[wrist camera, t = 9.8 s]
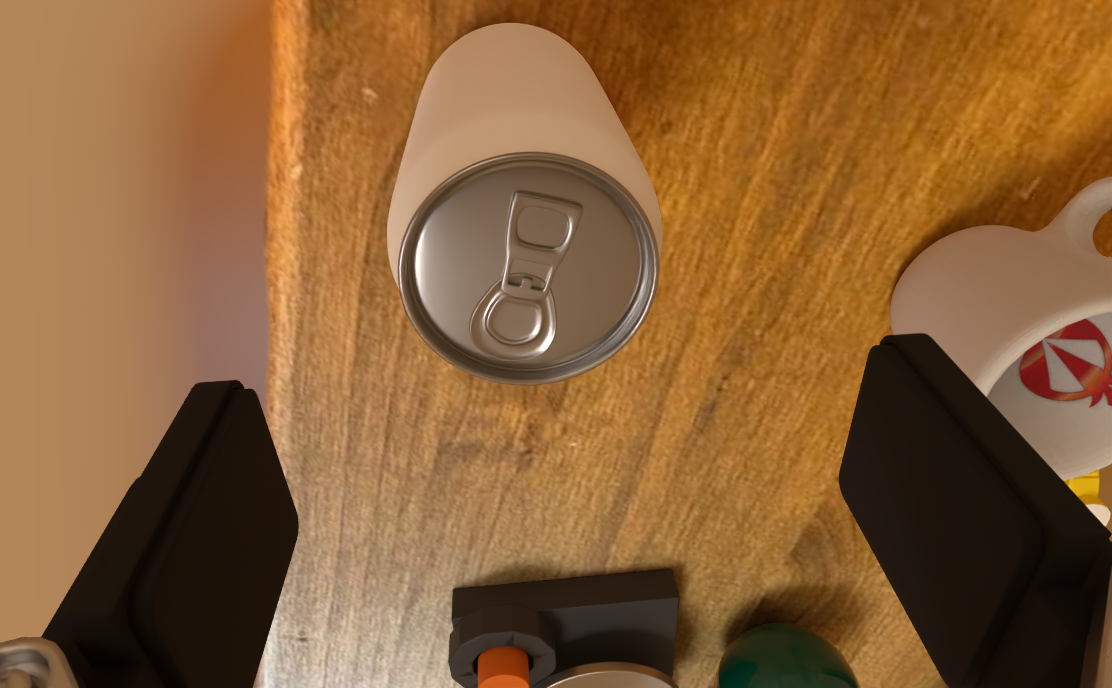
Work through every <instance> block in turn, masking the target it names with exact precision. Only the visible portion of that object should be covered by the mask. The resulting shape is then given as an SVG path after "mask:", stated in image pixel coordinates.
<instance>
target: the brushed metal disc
mask: <svg viewBox="0 0 1112 688" xmlns="http://www.w3.org/2000/svg"><path fill="white" fill-rule="evenodd" d="M532 688H679V687H678V685H677V684H676V683H675V682H674V681H673V680H672V679H671V678H670V677H669V676H668V675H666V674H664V673H663V672H661V671H659V670H657V669H654V668H652V667H648V666H645V665H641V664H636V663H629V662H597V663H590V664H584V665H580V666H575V667H572V668H569V669H565V670H563V671H560V672H558V673H555V674H553V675H551V676H549V677H547V678H545V679H544V680H542V681H541V682H539V683H537V684H536V685H535V686H534V687H532Z"/></svg>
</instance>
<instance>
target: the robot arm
mask: <svg viewBox="0 0 1112 688" xmlns="http://www.w3.org/2000/svg"><path fill="white" fill-rule="evenodd" d="M839 485H840V490H841V493H842V495H843V498H844V500H845V501H846V503H847V505H848V507H849V509H850V511H851V512H852V514H853V516H854V518H855V520H856V522H857V523H858V525H859V527H860V529H861V531H862V533H863V534H864V536H865V538H866V540H867V542H868V544H869V545H870V547H871V549H872V551H873V553H874V555H875V556H876V558H877V560H878V562H879V564H880V566H881V567H882V569H883V571H884V573H885V575H886V577H887V578H888V580H889V582H890V584H891V586H892V587H893V589H894V591H895V593H896V595H897V597H898V598H899V600H900V602H901V604H902V606H903V608H904V609H905V611H906V613H907V615H908V617H909V619H910V620H911V622H912V624H913V626H914V628H915V630H916V631H917V633H918V635H919V637H920V639H921V641H922V642H923V644H924V646H925V648H926V650H927V652H928V653H929V655H930V657H931V659H932V661H933V663H934V664H935V666H936V668H937V670H938V672H939V674H940V675H941V677H942V679H943V680H944V682H945V683H946V684H947V685H948V686H949V687H950V688H1112V542H1111V541H1110V540H1109V538H1110V536H1111V532H1110V531H1109V530H1108V529H1107V528H1106V527H1105V526H1104V525H1103V524H1102V523H1101V522H1100V520H1099V519H1098V518H1097V517H1096V516H1095V515H1094V514H1093V513H1092V512H1091V511H1090V510H1089V508H1088V507H1087V506H1086V505H1085V504H1084V503H1083V502H1082V501H1081V500H1080V499H1079V498H1078V496H1077V495H1076V494H1075V493H1074V492H1073V491H1072V490H1071V489H1070V488H1069V487H1068V486H1067V484H1066V483H1065V482H1064V481H1063V480H1062V479H1061V478H1060V477H1059V476H1058V475H1057V474H1056V472H1055V471H1054V470H1053V469H1052V468H1051V467H1050V466H1049V465H1048V464H1047V463H1046V462H1045V460H1044V459H1043V458H1042V457H1041V456H1040V455H1039V454H1038V453H1037V452H1036V451H1035V450H1034V448H1033V447H1032V446H1031V445H1030V444H1029V443H1028V442H1027V441H1026V440H1025V439H1024V438H1023V436H1022V435H1021V434H1020V433H1019V432H1018V431H1017V430H1016V429H1015V428H1014V427H1013V426H1012V424H1011V423H1010V422H1009V421H1008V420H1007V419H1006V418H1005V417H1004V416H1003V415H1002V414H1001V413H1000V411H999V410H998V409H997V408H996V407H995V406H994V405H993V404H992V403H991V402H990V401H989V399H988V398H987V397H986V396H985V395H984V394H983V393H982V392H981V391H980V390H979V389H978V387H977V386H976V385H975V384H974V383H973V382H972V381H971V380H970V379H969V378H968V377H967V375H966V374H965V373H964V372H963V371H962V370H961V369H960V368H959V367H958V366H957V365H956V363H955V362H954V361H953V360H952V359H951V358H950V357H949V356H948V355H947V354H946V353H945V351H944V350H943V349H942V348H941V347H940V346H939V345H938V344H937V343H936V342H935V341H934V339H933V338H932V337H930V336H929V335H928V334H925V333H913V334H899V335H888V336H885V337H884V338H883V339H882V340H881V342H880V345H875V346H873V347H872V348H871V349H870V352H869V354H868V358H867V362H866V366H865V370H864V374H863V379H862V383H861V387H860V391H859V395H858V399H857V403H856V407H855V411H854V415H853V419H852V423H851V427H850V431H849V435H848V439H847V443H846V447H845V451H844V456H843V460H842V464H841V468H840V472H839ZM298 529H299V522H298V515H297V512H296V509H295V506H294V503H293V500H292V497H291V494H290V491H289V488H288V485H287V482H286V479H285V476H284V473H283V470H282V467H281V464H280V461H279V458H278V455H277V452H276V449H275V446H274V443H273V440H272V437H271V434H270V432H269V429H268V426H267V423H266V420H265V417H264V414H263V411H262V408H261V405H260V402H259V399H258V396H257V394H256V392H255V391H254V390H253V389H244V386H243V385H242V384H241V383H240V381H237V380H230V381H215V382H200V383H197V384H195V385H194V387H193V388H192V389H191V391H190V393H189V394H188V396H187V398H186V399H185V401H184V403H183V405H182V406H181V408H180V410H179V411H178V413H177V415H176V417H175V418H174V420H173V422H172V423H171V425H170V427H169V429H168V430H167V432H166V434H165V436H164V437H163V439H162V440H161V442H160V444H159V446H158V447H157V449H156V451H155V452H154V454H153V456H152V458H151V459H150V461H149V463H148V464H147V466H146V468H145V470H144V471H143V473H142V475H141V476H140V477H139V478H137V479H136V480H135V482H134V483H133V484H132V485H131V487H130V488H129V490H128V491H127V493H126V495H125V497H124V498H123V500H122V501H121V503H120V505H119V507H118V508H117V510H116V512H115V514H114V515H113V517H112V518H111V520H110V522H109V523H108V525H107V527H106V529H105V530H104V532H103V534H102V535H101V537H100V539H99V540H98V542H97V544H96V545H95V547H94V549H93V550H92V552H91V554H90V556H89V557H88V559H87V561H86V562H85V564H84V566H83V567H82V569H81V571H80V572H79V574H78V576H77V577H76V579H75V581H74V583H73V584H72V586H71V588H70V589H69V591H68V593H67V594H66V596H65V598H64V600H63V601H62V603H61V604H60V606H59V608H58V610H57V611H56V613H55V615H54V616H53V618H52V620H51V621H50V623H49V625H48V627H47V628H46V630H45V632H44V633H43V635H42V637H30V638H28V637H24V638H23V637H22V638H18V639H14V640H10V641H6V642H2V643H0V688H253V684H254V681H255V678H256V674H257V671H258V668H259V664H260V661H261V658H262V654H263V651H264V648H265V644H266V641H267V638H268V634H269V631H270V628H271V624H272V621H273V618H274V614H275V611H276V608H277V604H278V601H279V597H280V594H281V591H282V587H283V584H284V581H285V577H286V574H287V571H288V567H289V564H290V561H291V557H292V554H293V551H294V547H295V544H296V541H297V536H298Z"/></svg>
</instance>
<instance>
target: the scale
mask: <svg viewBox="0 0 1112 688" xmlns="http://www.w3.org/2000/svg"><path fill="white" fill-rule="evenodd" d="M678 608H679V594H678V590H677V586H676V583H675V579H674V575H673V571H672V569H666V570H655V571H644V572H634V573H623V574H612V575H601V576H590V577H579V578H568V579H558V580H547V581H536V582H525V583H514V584H503V585H492V586H482V587H471V588H460V589H453V600H452V623H453V629H454V630H453V631H452V633H451V634H450V640H449V666H450V671H451V676H452V679H454V680H455V681H456V682H458V683H459V684H460V685H462V686H463V687H464V688H478V658H479V655H480V654H481V653H482V652H483V651H486V650H488V649H490V648H494V647H505V646H511V647H516V648H520V649H524V650H525V652H526V653H527V655H528V667H529V686H530V688H532V687H534V686H535V685H536V684H537V683H539V682H541V681H542V680H544V679H545V678H547V677H549V676H551V675H553V674H555V673H558V672H560V671H563V670H565V669H569V668H572V667H575V666H580V665H584V664H590V663H597V662H629V663H636V664H641V665H645V666H648V667H652V668H654V669H657V670H659V671H661V672H663V673H664V674H666V675H668V676H669V677H670V678H671V679H672V675H673V663H674V652H675V641H676V630H677V619H678Z"/></svg>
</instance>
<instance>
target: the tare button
mask: <svg viewBox="0 0 1112 688" xmlns="http://www.w3.org/2000/svg"><path fill="white" fill-rule="evenodd" d="M478 688H530V686H529V667H528V655H527V653H526V652H525V650H524V649H520V648H516V647H511V646H505V647H494V648H490V649H488V650H486V651H483V652H482V653H481V654H480V655H479V658H478Z"/></svg>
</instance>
